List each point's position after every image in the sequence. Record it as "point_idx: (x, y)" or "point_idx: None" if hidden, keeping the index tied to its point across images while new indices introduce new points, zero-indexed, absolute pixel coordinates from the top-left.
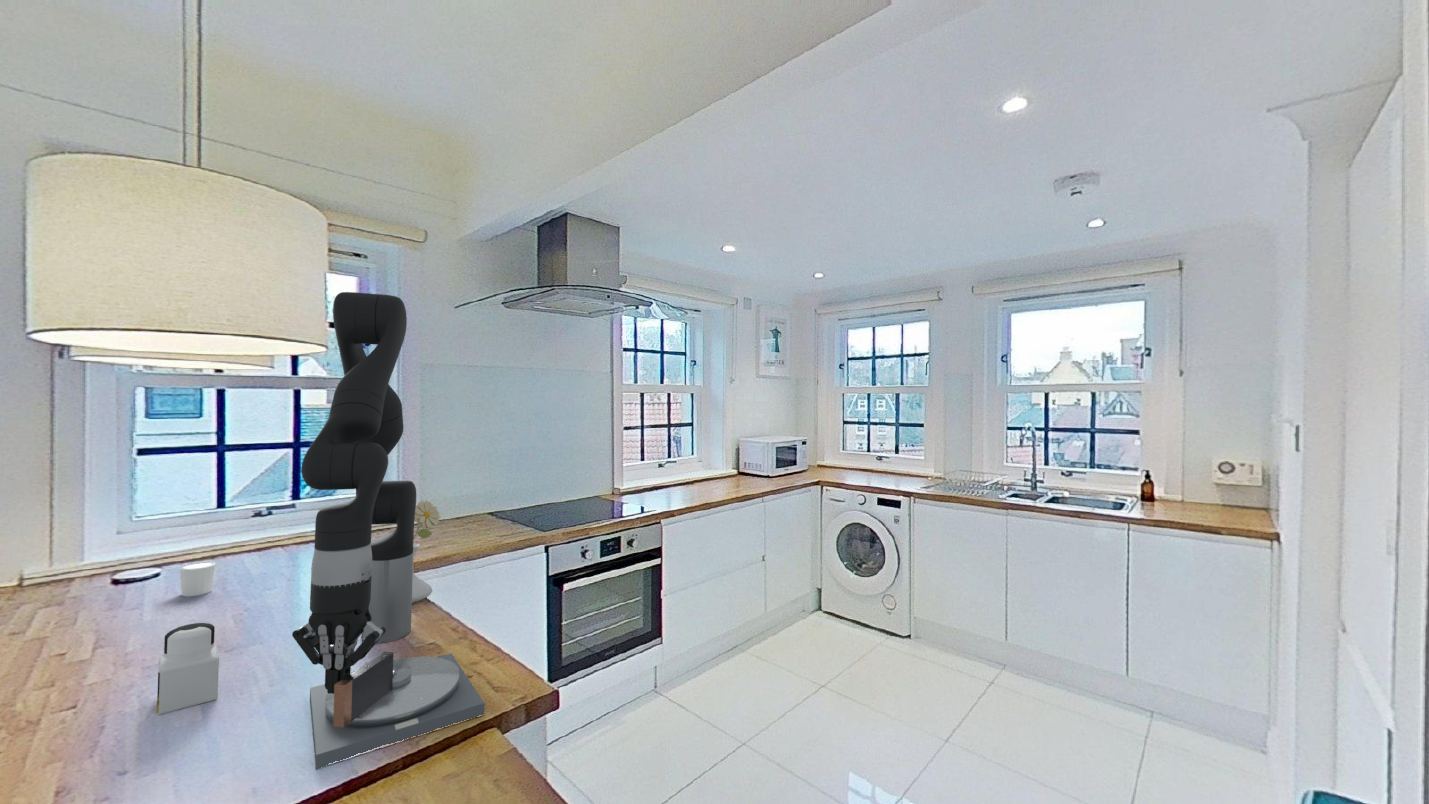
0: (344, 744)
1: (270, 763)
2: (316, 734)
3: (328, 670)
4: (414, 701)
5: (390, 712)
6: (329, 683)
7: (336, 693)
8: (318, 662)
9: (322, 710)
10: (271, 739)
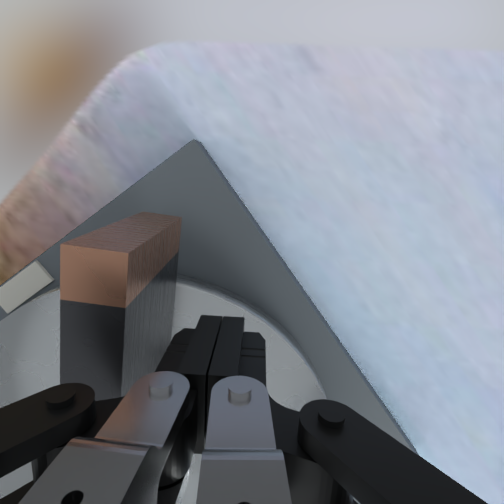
0: (142, 190)
1: (341, 175)
2: (260, 243)
3: (234, 373)
4: (9, 359)
5: (43, 295)
6: (232, 334)
7: (131, 239)
8: (303, 407)
9: (321, 363)
10: (406, 279)
